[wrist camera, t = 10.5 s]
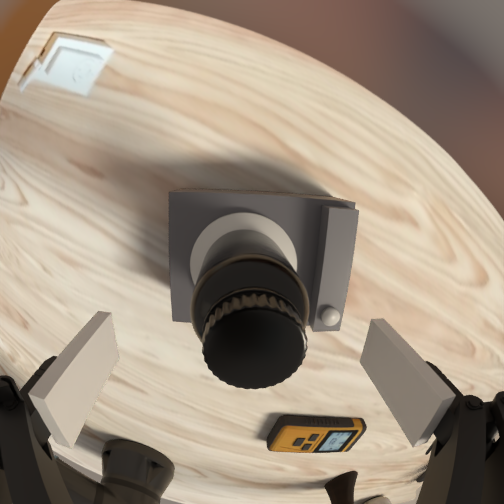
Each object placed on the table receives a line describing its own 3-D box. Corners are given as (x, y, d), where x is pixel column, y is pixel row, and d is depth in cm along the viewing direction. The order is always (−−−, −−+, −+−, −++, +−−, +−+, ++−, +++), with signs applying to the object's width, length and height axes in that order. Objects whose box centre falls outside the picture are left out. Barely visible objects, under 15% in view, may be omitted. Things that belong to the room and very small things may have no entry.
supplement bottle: (242, 319, 25) (248, 421, 13) (187, 266, 23) (145, 347, 11) (302, 269, 24) (354, 348, 12) (247, 209, 22) (259, 245, 10)
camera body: (183, 295, 31) (166, 335, 23) (182, 188, 28) (160, 193, 20) (321, 299, 32) (345, 338, 24) (333, 196, 29) (368, 205, 21)
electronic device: (280, 410, 38) (283, 425, 34) (363, 414, 39) (369, 427, 36) (263, 439, 40) (265, 454, 36) (342, 442, 41) (346, 455, 38)
